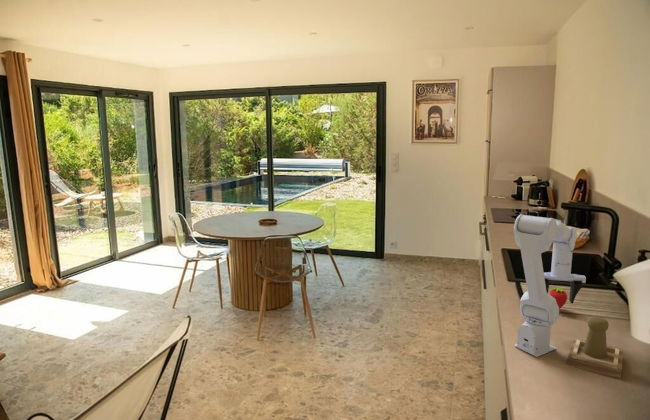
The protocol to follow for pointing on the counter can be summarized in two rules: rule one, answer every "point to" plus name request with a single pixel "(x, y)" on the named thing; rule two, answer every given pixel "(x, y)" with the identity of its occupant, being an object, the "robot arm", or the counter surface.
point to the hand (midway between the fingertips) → (558, 301)
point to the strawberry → (559, 296)
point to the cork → (596, 338)
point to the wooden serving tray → (596, 360)
